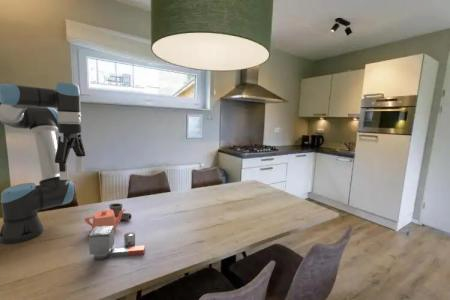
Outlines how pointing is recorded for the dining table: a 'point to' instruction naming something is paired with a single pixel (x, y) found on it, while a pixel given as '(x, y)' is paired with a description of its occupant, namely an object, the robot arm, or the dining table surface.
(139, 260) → the dining table surface
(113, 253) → the ratchet
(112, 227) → the grey square box
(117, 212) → the pipe
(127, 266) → the dining table surface
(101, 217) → the teapot
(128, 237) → the socket
